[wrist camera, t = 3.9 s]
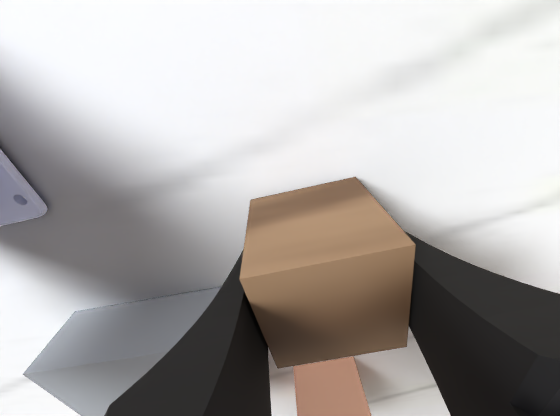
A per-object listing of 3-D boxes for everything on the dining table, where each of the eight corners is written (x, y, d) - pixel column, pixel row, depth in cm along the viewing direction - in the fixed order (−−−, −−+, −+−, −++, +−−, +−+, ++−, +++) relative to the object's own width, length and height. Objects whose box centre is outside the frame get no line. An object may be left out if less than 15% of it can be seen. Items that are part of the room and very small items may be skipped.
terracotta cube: (293, 365, 19) (300, 448, 15) (352, 355, 19) (378, 437, 15) (303, 393, 22) (311, 471, 17) (356, 384, 21) (378, 463, 17)
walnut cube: (250, 199, 11) (239, 279, 7) (355, 176, 11) (415, 244, 6) (274, 274, 13) (277, 368, 9) (360, 257, 13) (406, 346, 9)
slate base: (78, 306, 15) (22, 374, 12) (226, 281, 15) (212, 344, 11) (148, 381, 20) (123, 445, 17) (261, 364, 20) (259, 427, 16)
